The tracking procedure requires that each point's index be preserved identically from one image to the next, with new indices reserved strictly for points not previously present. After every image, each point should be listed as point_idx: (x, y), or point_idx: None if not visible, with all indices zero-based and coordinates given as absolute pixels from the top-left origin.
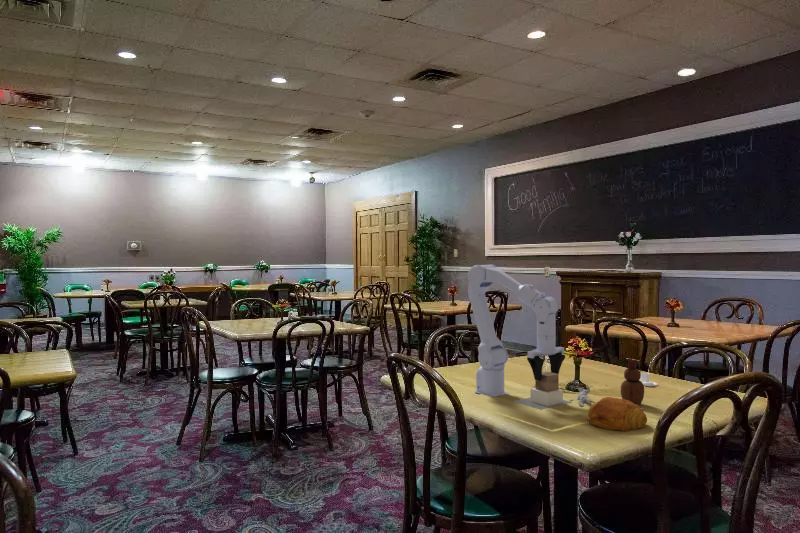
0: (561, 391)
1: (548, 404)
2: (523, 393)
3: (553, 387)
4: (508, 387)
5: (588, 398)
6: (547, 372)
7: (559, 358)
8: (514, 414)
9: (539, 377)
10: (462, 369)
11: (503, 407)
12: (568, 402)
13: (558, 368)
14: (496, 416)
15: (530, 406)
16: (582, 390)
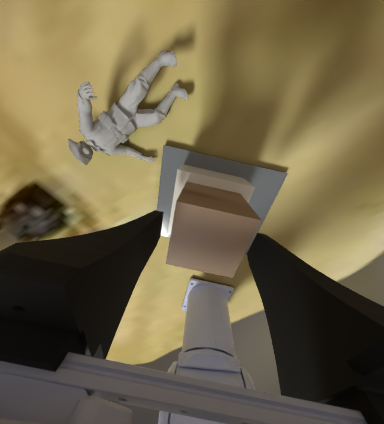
0: (185, 170)
1: (240, 177)
2: (164, 266)
3: (212, 190)
4: (149, 296)
5: (146, 68)
6: (184, 251)
7: (99, 271)
8: (341, 207)
9: (274, 242)
10: (119, 357)
11: (289, 248)
12: (172, 152)
13: (142, 225)
14: (376, 227)
15: (269, 207)
16: (79, 151)
